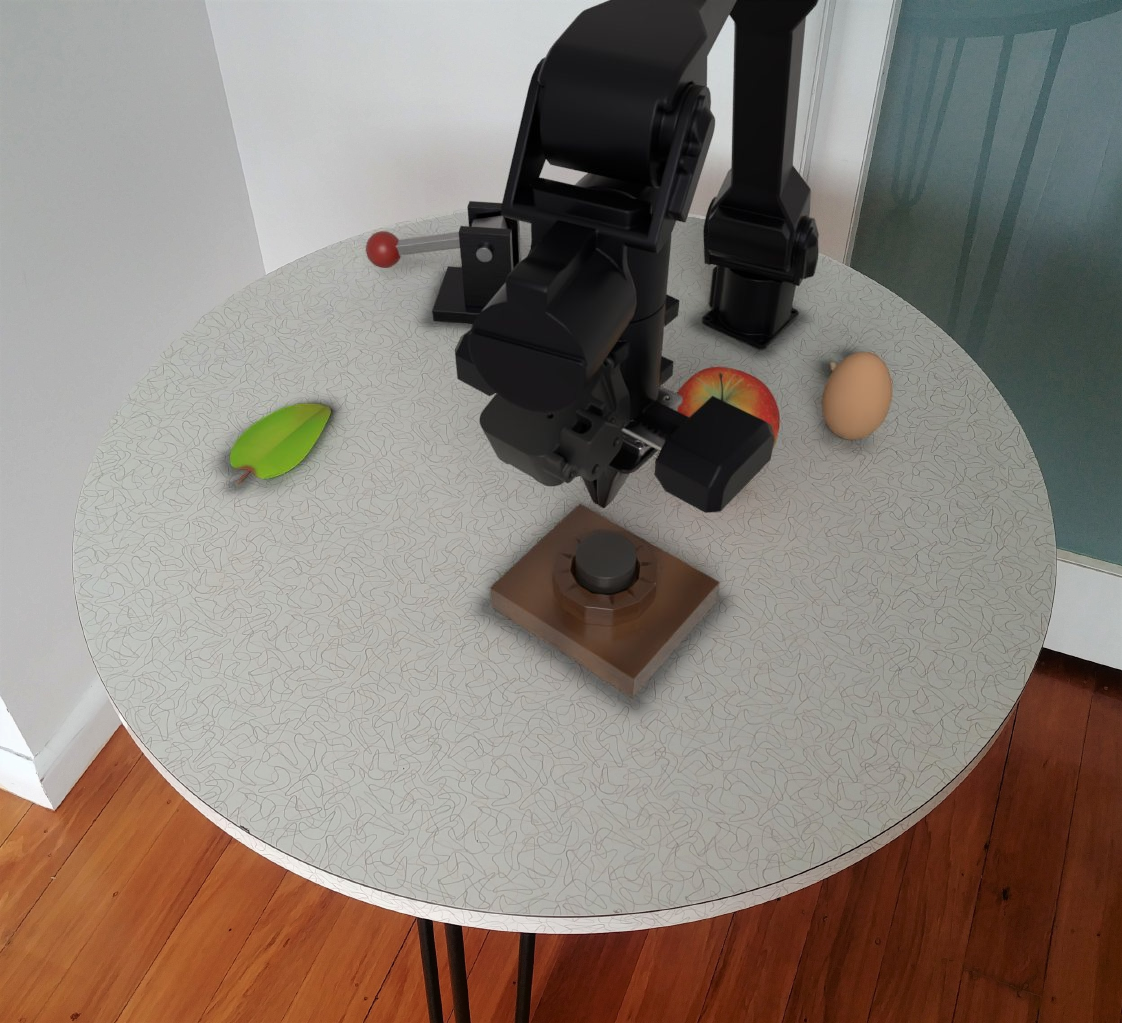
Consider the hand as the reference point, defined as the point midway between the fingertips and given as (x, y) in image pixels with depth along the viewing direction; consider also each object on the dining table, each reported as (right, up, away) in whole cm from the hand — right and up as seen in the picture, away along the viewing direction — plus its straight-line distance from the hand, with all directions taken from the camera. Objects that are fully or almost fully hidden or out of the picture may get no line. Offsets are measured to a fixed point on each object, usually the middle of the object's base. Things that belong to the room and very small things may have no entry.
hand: (603, 502), depth 66 cm
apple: (+9, +2, +16) cm, 19 cm away
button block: (0, -7, +7) cm, 10 cm away
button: (0, -5, +5) cm, 7 cm away
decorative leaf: (-25, +5, +19) cm, 32 cm away
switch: (-13, +22, +29) cm, 39 cm away
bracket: (-9, +19, +31) cm, 38 cm away
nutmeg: (+22, +11, +25) cm, 35 cm away
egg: (+20, +6, +19) cm, 29 cm away
